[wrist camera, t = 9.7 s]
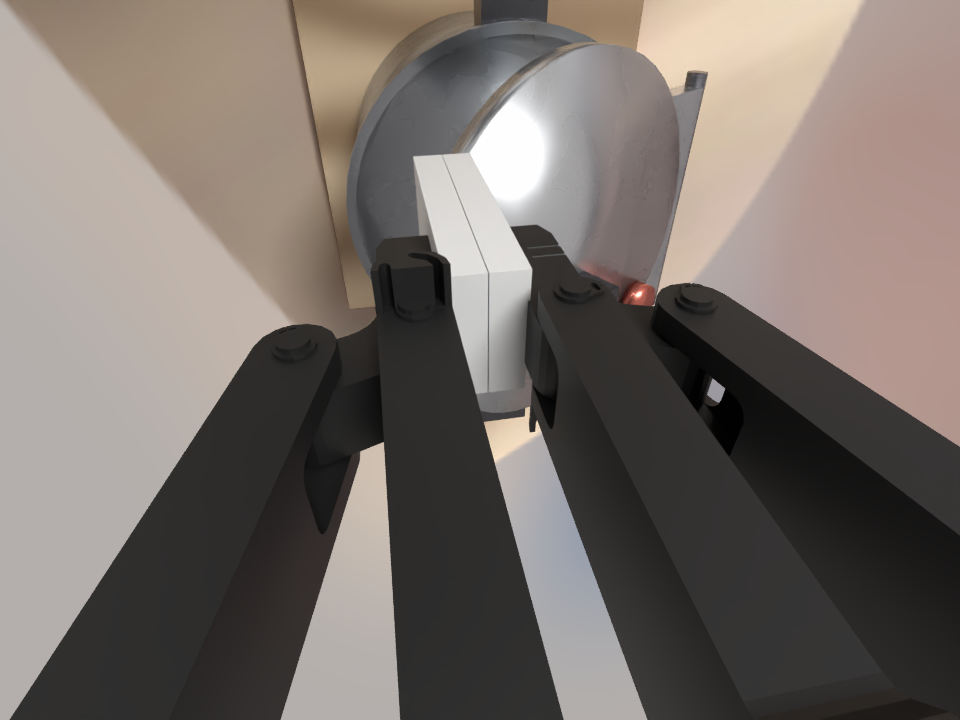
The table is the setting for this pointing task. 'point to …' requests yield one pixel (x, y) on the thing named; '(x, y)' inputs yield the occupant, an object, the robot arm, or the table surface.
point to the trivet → (359, 52)
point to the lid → (589, 165)
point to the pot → (435, 109)
